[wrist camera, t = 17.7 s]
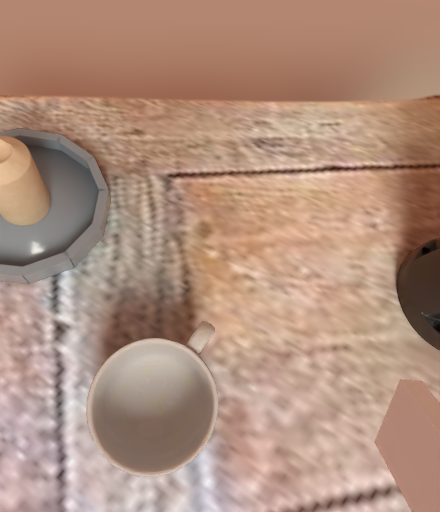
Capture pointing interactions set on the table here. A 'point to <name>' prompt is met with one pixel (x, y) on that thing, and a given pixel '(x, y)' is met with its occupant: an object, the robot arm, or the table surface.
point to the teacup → (154, 404)
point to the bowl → (56, 211)
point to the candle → (20, 185)
